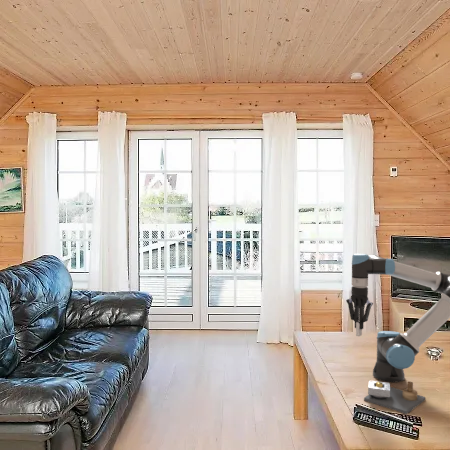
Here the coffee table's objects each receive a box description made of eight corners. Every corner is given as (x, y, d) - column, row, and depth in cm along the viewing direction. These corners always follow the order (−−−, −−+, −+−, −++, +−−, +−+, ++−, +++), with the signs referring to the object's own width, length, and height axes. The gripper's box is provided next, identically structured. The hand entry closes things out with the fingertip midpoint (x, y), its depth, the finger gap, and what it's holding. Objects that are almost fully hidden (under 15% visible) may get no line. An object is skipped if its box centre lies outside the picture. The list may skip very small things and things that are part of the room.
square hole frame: (369, 386, 209) (369, 380, 209) (389, 389, 206) (389, 383, 206) (368, 394, 200) (368, 387, 200) (389, 397, 197) (389, 390, 197)
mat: (384, 387, 216) (384, 385, 216) (425, 399, 203) (425, 397, 203) (364, 400, 202) (364, 397, 202) (406, 414, 188) (406, 411, 188)
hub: (375, 391, 208) (375, 378, 208) (390, 396, 203) (390, 383, 203) (367, 396, 203) (368, 383, 203) (382, 401, 198) (383, 387, 198)
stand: (405, 394, 206) (406, 378, 205) (419, 398, 201) (419, 382, 201) (400, 398, 201) (400, 382, 201) (413, 402, 197) (414, 386, 197)
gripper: (343, 285, 218) (342, 334, 219) (368, 289, 209) (367, 340, 210) (351, 283, 223) (350, 331, 224) (376, 287, 214) (375, 336, 215)
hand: (358, 335), depth 217 cm, fingers closed
